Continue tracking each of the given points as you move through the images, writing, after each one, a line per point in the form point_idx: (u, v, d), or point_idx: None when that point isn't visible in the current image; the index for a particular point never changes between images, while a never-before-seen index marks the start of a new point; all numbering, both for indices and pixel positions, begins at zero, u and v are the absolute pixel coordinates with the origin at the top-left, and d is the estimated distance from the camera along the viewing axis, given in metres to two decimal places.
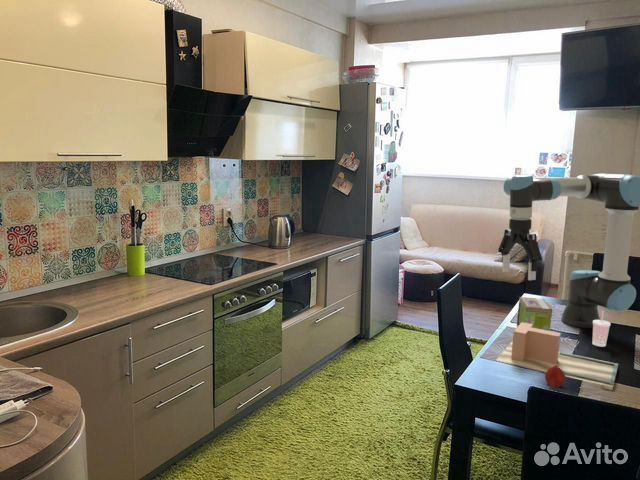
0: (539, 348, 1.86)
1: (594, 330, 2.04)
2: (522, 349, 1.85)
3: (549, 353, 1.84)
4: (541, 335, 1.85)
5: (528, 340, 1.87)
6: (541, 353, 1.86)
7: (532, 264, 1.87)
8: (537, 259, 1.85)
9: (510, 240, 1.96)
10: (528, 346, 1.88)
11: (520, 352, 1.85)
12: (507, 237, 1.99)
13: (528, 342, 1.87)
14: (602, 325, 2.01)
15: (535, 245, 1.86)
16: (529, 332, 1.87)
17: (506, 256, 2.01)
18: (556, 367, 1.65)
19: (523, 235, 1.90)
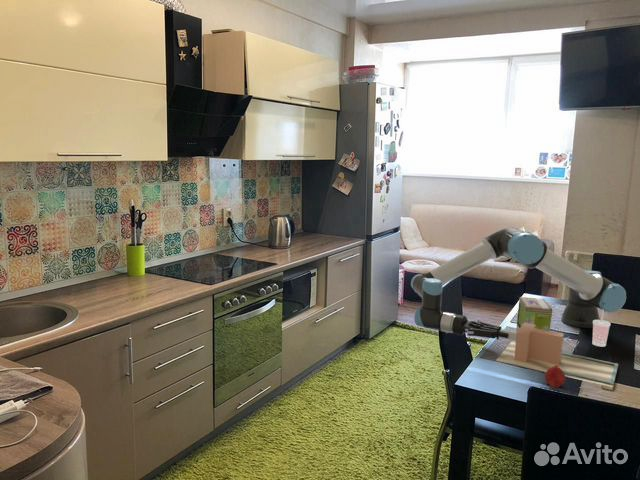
0: (543, 348, 1.85)
1: (594, 330, 2.04)
2: (525, 350, 1.84)
3: (552, 354, 1.84)
4: (544, 335, 1.84)
5: (531, 341, 1.87)
6: (544, 353, 1.85)
7: None
8: (493, 337, 1.92)
9: None
10: (531, 347, 1.87)
11: (524, 352, 1.85)
12: None
13: (531, 343, 1.87)
14: (602, 325, 2.01)
15: (479, 333, 1.93)
16: (532, 333, 1.86)
17: None
18: (556, 367, 1.65)
19: None
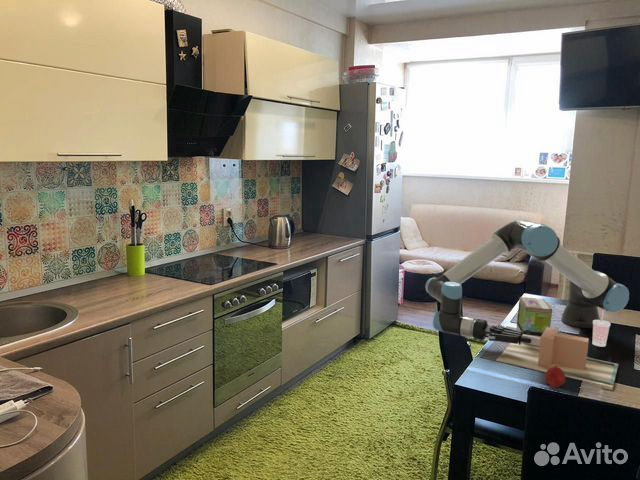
0: (567, 354, 1.81)
1: (594, 330, 2.04)
2: (549, 355, 1.80)
3: (578, 359, 1.79)
4: (569, 340, 1.80)
5: (555, 346, 1.83)
6: (568, 359, 1.81)
7: None
8: (516, 342, 1.87)
9: None
10: (555, 352, 1.83)
11: (548, 358, 1.80)
12: None
13: (555, 348, 1.83)
14: (602, 325, 2.01)
15: (501, 338, 1.89)
16: (556, 337, 1.82)
17: None
18: (556, 367, 1.65)
19: None
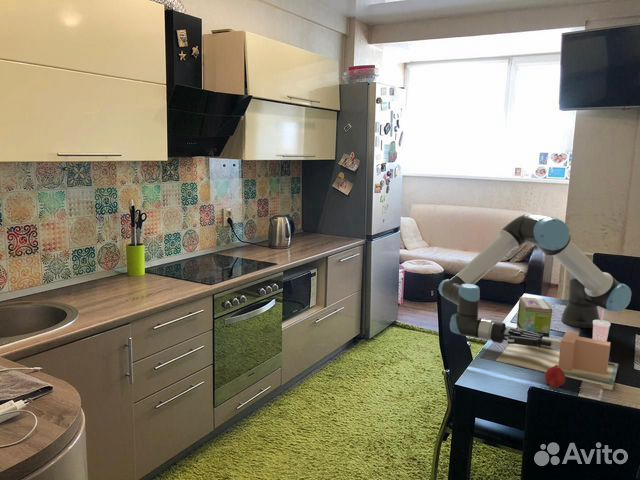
0: (588, 358, 1.78)
1: (594, 330, 2.04)
2: (570, 359, 1.77)
3: (599, 363, 1.76)
4: (590, 344, 1.77)
5: (576, 350, 1.79)
6: (589, 363, 1.78)
7: None
8: (536, 345, 1.84)
9: None
10: (576, 356, 1.80)
11: (568, 362, 1.77)
12: None
13: (576, 352, 1.79)
14: (602, 325, 2.01)
15: (520, 341, 1.86)
16: (577, 341, 1.79)
17: None
18: (556, 367, 1.65)
19: None
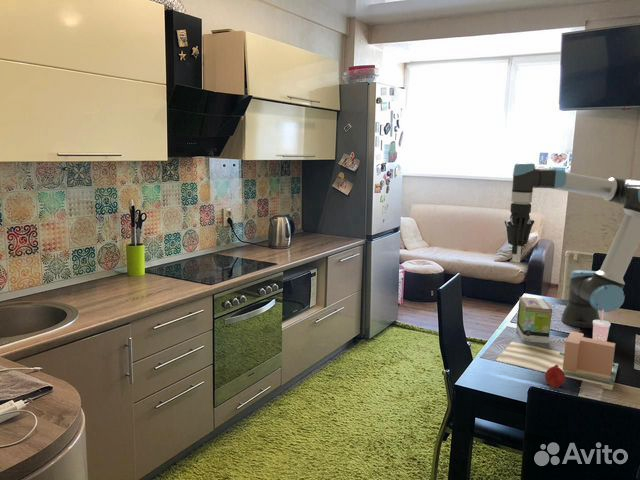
0: (593, 359, 1.77)
1: (594, 330, 2.04)
2: (575, 360, 1.76)
3: (604, 364, 1.75)
4: (594, 345, 1.76)
5: (580, 350, 1.79)
6: (594, 364, 1.77)
7: None
8: (509, 242, 2.10)
9: None
10: (580, 357, 1.79)
11: (573, 363, 1.77)
12: (526, 225, 2.11)
13: (580, 352, 1.79)
14: (602, 325, 2.01)
15: (509, 231, 2.08)
16: (581, 342, 1.78)
17: None
18: (556, 367, 1.65)
19: None
